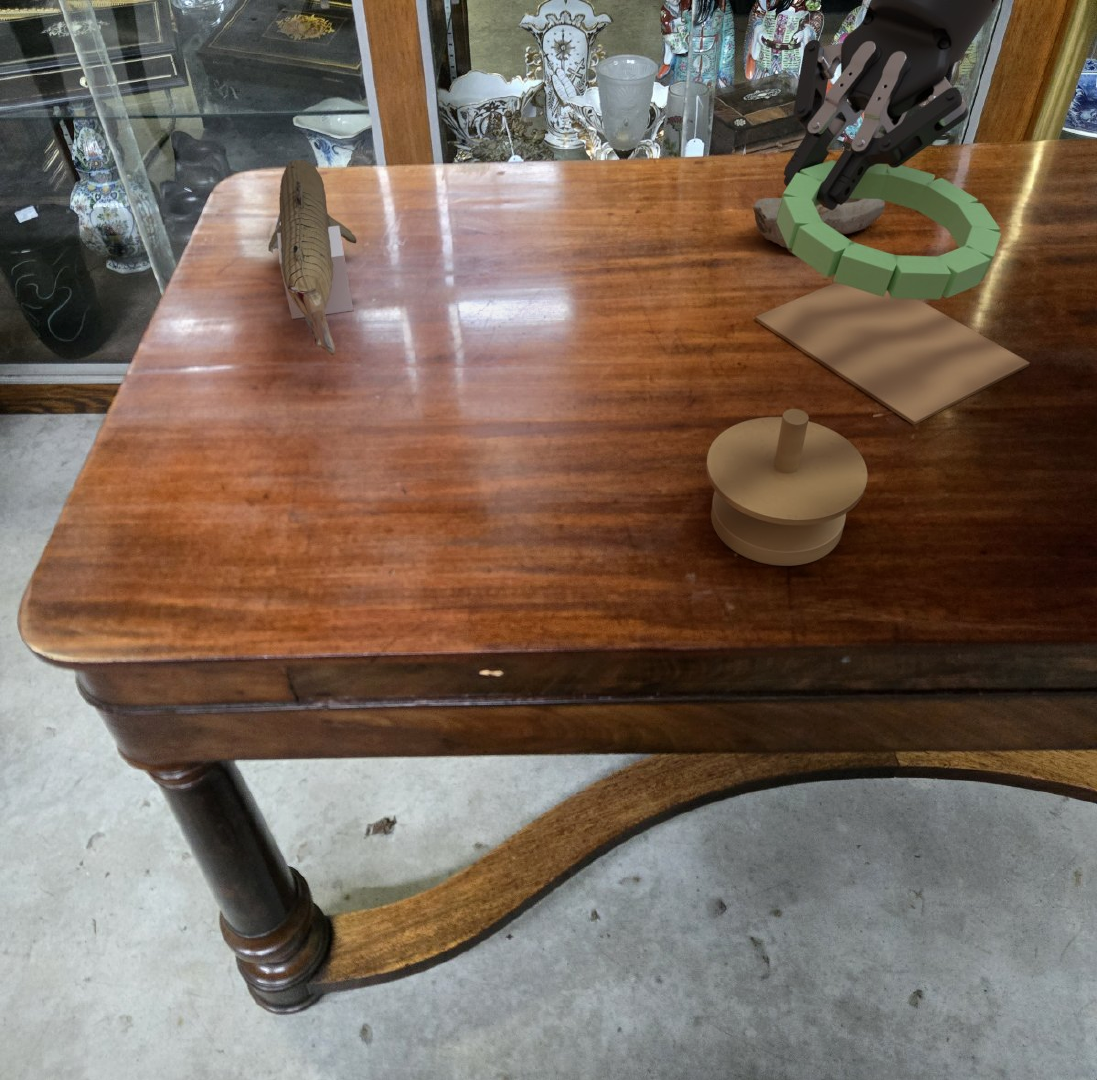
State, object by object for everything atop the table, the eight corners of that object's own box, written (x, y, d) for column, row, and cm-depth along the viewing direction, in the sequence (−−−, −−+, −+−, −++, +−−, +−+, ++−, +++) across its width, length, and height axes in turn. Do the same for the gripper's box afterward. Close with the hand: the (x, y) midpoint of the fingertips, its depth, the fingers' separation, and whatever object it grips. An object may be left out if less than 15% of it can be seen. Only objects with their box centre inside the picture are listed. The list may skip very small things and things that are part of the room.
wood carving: (284, 423, 90) (256, 311, 82) (270, 231, 114) (248, 131, 106) (387, 408, 91) (369, 296, 83) (352, 221, 115) (336, 121, 107)
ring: (1030, 263, 72) (1043, 237, 71) (889, 323, 66) (899, 296, 64) (876, 167, 80) (884, 143, 78) (736, 213, 73) (742, 187, 72)
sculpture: (845, 211, 117) (733, 230, 112) (858, 171, 113) (742, 189, 108) (884, 243, 112) (769, 264, 107) (899, 201, 109) (780, 222, 104)
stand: (885, 532, 79) (916, 428, 72) (771, 597, 74) (792, 493, 67) (780, 452, 86) (798, 350, 79) (670, 507, 81) (679, 404, 74)
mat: (1028, 366, 94) (1030, 362, 93) (913, 425, 88) (914, 421, 88) (865, 273, 106) (865, 269, 105) (754, 319, 100) (754, 316, 100)
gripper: (853, -83, 72) (714, 140, 76) (1032, -38, 65) (870, 209, 68) (884, -17, 78) (755, 187, 82) (1051, 31, 71) (901, 254, 74)
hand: (808, 195), depth 75 cm, fingers closed on ring, 2 cm apart
